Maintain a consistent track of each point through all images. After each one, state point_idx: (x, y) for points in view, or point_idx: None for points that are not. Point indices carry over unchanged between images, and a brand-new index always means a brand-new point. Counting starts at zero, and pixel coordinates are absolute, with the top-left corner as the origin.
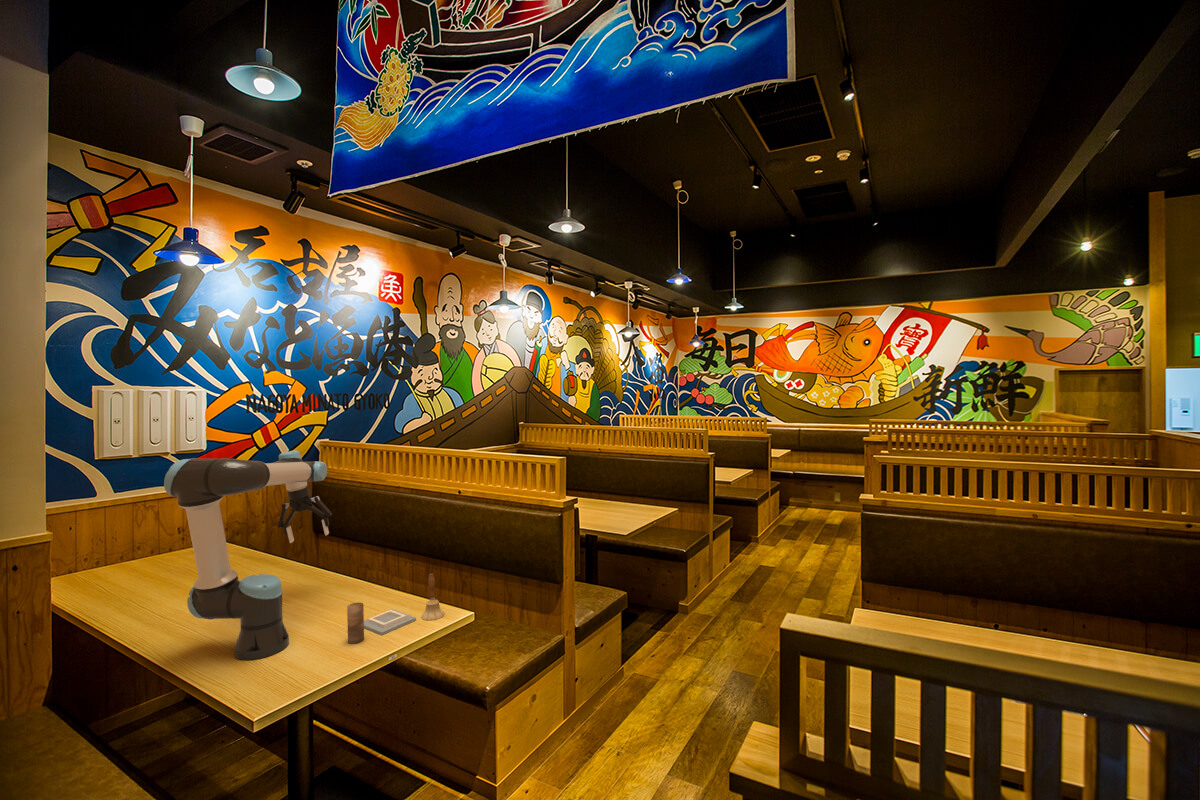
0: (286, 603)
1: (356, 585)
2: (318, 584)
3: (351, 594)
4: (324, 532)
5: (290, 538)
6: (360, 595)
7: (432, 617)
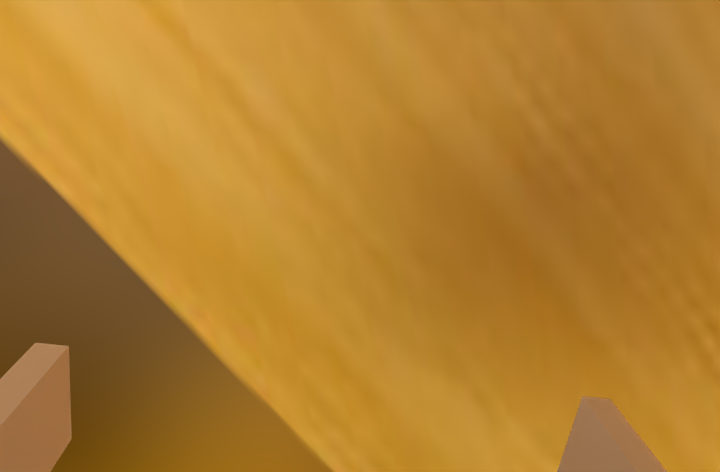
0: (526, 112)
1: (177, 260)
2: (386, 358)
3: (169, 120)
4: (41, 379)
5: (622, 447)
6: (113, 81)
7: None
